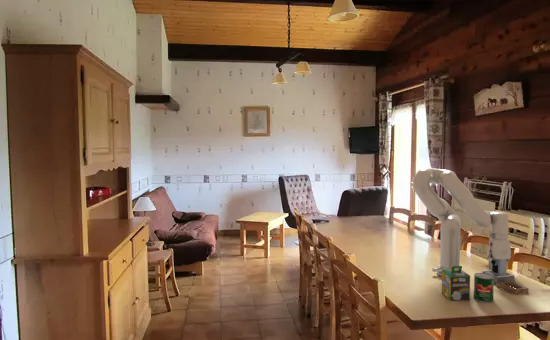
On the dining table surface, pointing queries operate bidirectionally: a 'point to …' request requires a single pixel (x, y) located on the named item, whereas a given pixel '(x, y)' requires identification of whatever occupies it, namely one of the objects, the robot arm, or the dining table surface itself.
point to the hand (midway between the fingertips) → (498, 271)
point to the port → (500, 277)
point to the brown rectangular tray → (515, 291)
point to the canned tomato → (483, 287)
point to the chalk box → (456, 284)
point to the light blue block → (501, 267)
